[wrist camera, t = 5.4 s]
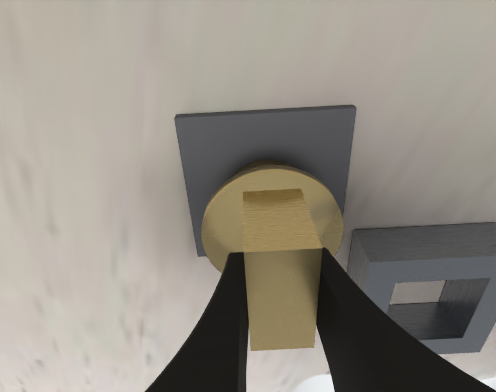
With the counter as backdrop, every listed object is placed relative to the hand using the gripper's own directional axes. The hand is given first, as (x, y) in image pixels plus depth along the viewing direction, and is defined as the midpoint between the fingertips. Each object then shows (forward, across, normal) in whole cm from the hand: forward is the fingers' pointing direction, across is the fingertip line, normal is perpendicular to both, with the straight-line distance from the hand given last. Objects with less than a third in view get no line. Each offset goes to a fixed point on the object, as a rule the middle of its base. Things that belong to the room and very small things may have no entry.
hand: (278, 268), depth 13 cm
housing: (+7, -10, +8) cm, 14 cm away
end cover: (+6, 0, 0) cm, 6 cm away
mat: (+7, 0, 0) cm, 7 cm away
